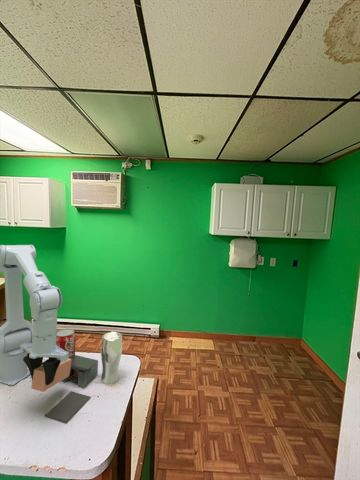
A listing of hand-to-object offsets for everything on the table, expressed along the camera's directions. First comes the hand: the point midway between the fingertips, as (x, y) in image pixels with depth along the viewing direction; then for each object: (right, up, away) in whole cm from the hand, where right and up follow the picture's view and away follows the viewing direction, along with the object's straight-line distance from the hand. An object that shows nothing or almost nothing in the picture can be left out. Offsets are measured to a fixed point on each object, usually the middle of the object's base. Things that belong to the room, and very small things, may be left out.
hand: (42, 380), depth 65 cm
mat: (+6, -9, +2) cm, 11 cm away
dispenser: (+3, -8, +15) cm, 17 cm away
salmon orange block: (+1, -2, +3) cm, 4 cm away
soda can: (-4, -7, +21) cm, 22 cm away
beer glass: (+14, -9, +16) cm, 23 cm away
